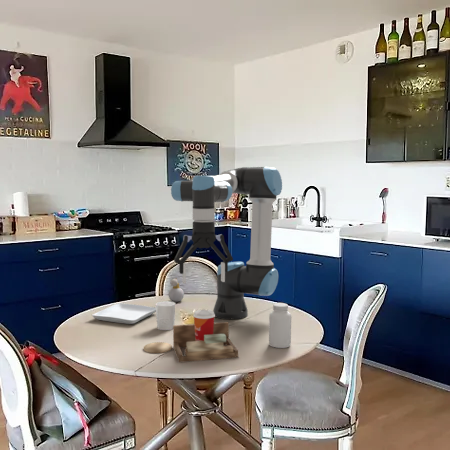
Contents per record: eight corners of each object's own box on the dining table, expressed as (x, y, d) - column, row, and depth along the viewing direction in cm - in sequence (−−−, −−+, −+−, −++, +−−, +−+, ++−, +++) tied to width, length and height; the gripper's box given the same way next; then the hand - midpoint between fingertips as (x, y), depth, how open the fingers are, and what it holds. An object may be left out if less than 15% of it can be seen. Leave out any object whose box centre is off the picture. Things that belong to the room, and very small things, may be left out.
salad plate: (134, 327, 209) (133, 319, 208) (90, 322, 217) (90, 314, 216) (159, 314, 228) (159, 307, 228) (118, 309, 236) (118, 302, 236)
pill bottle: (285, 350, 181) (285, 308, 180) (265, 346, 186) (265, 305, 184) (294, 343, 188) (295, 303, 187) (274, 340, 192) (275, 300, 191)
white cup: (172, 331, 203) (171, 306, 202) (153, 330, 204) (152, 305, 203) (177, 325, 211) (177, 301, 210) (159, 324, 212) (159, 300, 211)
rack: (227, 343, 189) (227, 321, 188) (238, 357, 174) (238, 334, 173) (173, 347, 184) (173, 325, 183) (179, 362, 170) (179, 338, 169)
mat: (170, 342, 189) (170, 341, 189) (173, 352, 179) (173, 350, 179) (142, 344, 187) (142, 343, 187) (144, 354, 177) (144, 352, 177)
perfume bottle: (182, 299, 255) (182, 275, 254) (186, 303, 246) (186, 279, 245) (167, 300, 253) (167, 276, 252) (170, 305, 244) (170, 280, 243)
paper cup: (192, 347, 184) (192, 309, 183) (214, 347, 185) (214, 308, 183) (193, 355, 176) (193, 315, 175) (215, 354, 177) (215, 314, 175)
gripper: (236, 219, 182) (236, 278, 184) (165, 220, 177) (166, 281, 179) (241, 221, 175) (241, 282, 177) (168, 222, 169) (168, 286, 171)
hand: (203, 282), depth 178 cm, fingers open, 13 cm apart
